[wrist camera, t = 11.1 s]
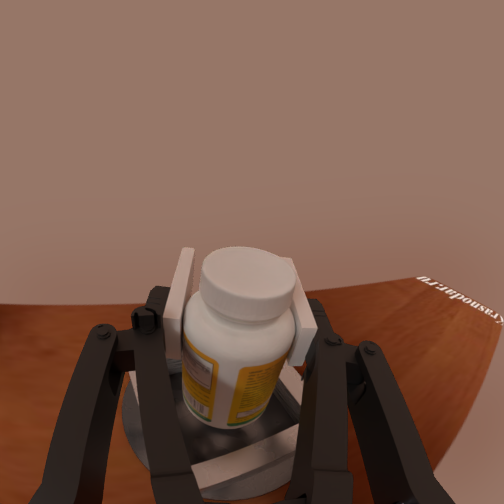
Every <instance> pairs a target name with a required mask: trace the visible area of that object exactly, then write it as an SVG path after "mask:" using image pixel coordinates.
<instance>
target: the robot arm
mask: <svg viewBox="0 0 504 504" xmlns="http://www.w3.org/2000/svg"><path fill="white" fill-rule="evenodd" d="M194 254H195V248H187V247H183V248H182V252H181V255H180V258H179V262H178V265H177V268H176V271H175V275H174V278H173V282H172V285H171V287H162V286H155V287H154V288H153V289H152V290H151V291H150V294H149V296H148V299H147V302H146V305H145V306H141V307H138V308H136V309H135V310H134V311H133V312H132V314H131V320H132V326H133V328H131V329H129V330H122V331H116V329H115V327H113V326H112V325H109V324H99V325H96V326H95V327H93V328H92V330H91V331H90V333H89V335H88V338H87V340H86V342H85V345H84V347H83V350H82V352H81V355H80V357H79V360H78V362H77V365H76V367H75V370H74V372H73V375H72V378H71V381H70V383H69V386H68V389H67V392H66V395H65V398H64V401H63V404H62V407H61V410H60V413H59V416H58V419H57V423H56V426H55V430H54V433H53V437H52V440H51V444H50V448H49V452H48V456H47V460H46V465H45V469H44V474H43V479H42V484H41V485H40V487H39V488H38V490H37V491H36V493H35V494H34V496H33V497H32V499H31V500H30V502H29V503H28V504H102V499H103V490H104V481H105V473H106V466H107V459H108V453H109V447H110V441H111V435H112V430H113V424H114V419H115V414H116V410H117V405H118V400H119V396H120V391H121V387H122V383H123V378H124V374H125V372H128V371H135V372H136V383H137V393H138V401H139V409H140V417H141V424H142V430H143V437H144V442H145V448H146V453H147V459H148V464H149V468H150V474H151V484H152V489H153V493H154V497H155V501H156V504H229V503H214V502H204V501H203V499H202V496H201V493H200V490H199V487H198V484H197V481H196V478H195V475H194V473H193V470H192V468H191V464H190V461H189V457H188V454H187V450H186V447H185V443H184V439H183V435H182V431H181V427H180V423H179V419H178V415H177V411H176V406H175V402H174V397H173V392H172V387H171V382H170V377H169V372H168V367H167V361H166V358H169V359H178V360H181V355H182V323H183V313H184V309H185V307H186V304H187V302H188V301H189V299H190V298H191V292H192V286H193V270H194ZM280 258H282V259H284V260H285V261H286V262H287V263H288V264H289V265H290V266H291V267H292V268H293V270H294V272H295V274H296V286H295V290H294V293H293V297H292V302H291V305H290V307H289V308H290V310H291V312H292V314H293V316H294V320H295V336H294V339H293V342H292V345H291V348H290V350H289V353H288V356H287V358H286V359H287V363H288V366H302V365H303V363H304V360H306V363H307V366H306V369H305V371H304V373H303V375H302V377H301V381H303V378H304V381H303V392H302V401H301V410H300V419H299V427H298V435H297V442H296V449H295V456H294V463H293V469H292V476H291V482H290V486H289V488H288V490H287V493H286V496H285V499H284V500H283V501H280V502H276V503H273V504H352V497H353V475H352V473H351V472H349V471H348V469H347V450H348V411H347V404H348V408H349V411H350V415H351V418H352V421H353V425H354V428H355V432H356V435H357V439H358V443H359V446H360V450H361V454H362V457H363V461H364V465H365V469H366V472H367V476H368V480H369V484H370V488H371V492H372V496H373V500H374V503H375V504H455V503H454V501H453V500H452V499H451V497H450V496H449V495H448V494H447V492H446V491H445V490H444V489H443V487H442V486H441V485H440V484H439V482H438V481H437V480H436V478H435V477H434V474H433V471H432V468H431V465H430V463H429V460H428V457H427V454H426V452H425V449H424V447H423V444H422V441H421V439H420V436H419V434H418V431H417V429H416V426H415V424H414V421H413V419H412V416H411V414H410V412H409V409H408V407H407V405H406V402H405V400H404V398H403V395H402V393H401V391H400V389H399V386H398V384H397V382H396V380H395V378H394V375H393V373H392V371H391V369H390V367H389V365H388V363H387V361H386V358H385V356H384V354H383V352H382V350H381V348H380V347H379V346H378V345H377V344H376V343H374V342H371V341H362V342H361V343H360V344H359V346H353V345H349V344H346V343H344V341H343V339H342V338H341V337H340V336H339V335H337V334H336V333H334V332H333V330H332V327H331V325H330V322H329V320H328V318H327V315H326V313H325V310H324V308H323V306H322V304H321V303H320V302H319V301H318V300H317V299H307V298H306V295H305V292H304V290H303V287H302V284H301V282H300V279H299V277H298V274H297V271H296V269H295V266H294V264H293V261H292V259H291V258H285V257H280Z"/></svg>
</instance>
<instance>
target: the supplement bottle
mask: <svg viewBox="0 0 504 504" xmlns="http://www.w3.org/2000/svg"><path fill="white" fill-rule="evenodd" d="M295 286H296V274H295V272H294V270H293V268H292V267H291V266H290V265H289V264H288V263H287V262H286V261H285V260H284V259H282V258H280V257H278V256H277V255H275V254H273V253H270V252H267V251H265V250H261V249H257V248H252V247H243V246H235V247H225V248H221V249H218V250H215V251H213V252H211V253H210V254H209V255H208V256H207V257H206V258H205V259H204V261H203V263H202V268H201V279H200V283H199V290H198V291H197V292H196V293H195V294H194V295H193V296H192V297H191V298H190V299H189V301H188V302H187V304H186V307H185V309H184V313H183V323H182V389H183V398H184V401H185V404H186V406H187V408H188V409H189V410H190V412H191V413H192V414H193V415H194V416H195V417H196V418H197V419H198V420H200V421H201V422H203V423H205V424H207V425H209V426H212V427H216V428H220V429H236V428H240V427H243V426H246V425H248V424H250V423H252V422H254V421H255V420H256V419H258V418H259V417H260V416H261V415H262V413H263V412H264V411H265V409H266V407H267V405H268V402H269V400H270V397H271V395H272V393H273V390H274V388H275V385H276V383H277V380H278V378H279V376H280V373H281V370H282V368H283V365H284V363H285V361H286V358H287V356H288V353H289V350H290V348H291V345H292V342H293V339H294V336H295V320H294V316H293V314H292V312H291V310H290V308H289V307H290V305H291V302H292V297H293V293H294V290H295Z"/></svg>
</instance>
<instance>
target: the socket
mask: <svg viewBox="0 0 504 504" xmlns="http://www.w3.org/2000/svg"><path fill="white" fill-rule="evenodd" d="M166 361H167V367H168V372H169V377H170V382H171V387H172V392H173V397H174V402H175V406H176V411H177V415H178V419H179V423H180V427H181V431H182V435H183V439H184V443H185V447H186V450H187V454H188V457H189V461H190V464H191V468H192V470H193V473H194V475H195V478H196V481H197V484H198V487H199V490H200V493H201V496H202V498H204V499H209V500H217V501H236V500H246V499H250V498H254V497H258V496H262V495H264V494H267V493H269V492H272V491H274V490H276V489H278V488H279V487H281V486H283V485H284V484H286V483H287V482H289V481H290V480H291V476H292V469H293V463H294V456H295V449H296V442H297V435H298V427H299V419H300V410H301V401H302V392H303V381H304V379H303V381H301V377H302V376H301V375H300V374H299V373H298V372H297V371H296V370H295V369H294V368H293V366H288V363H287V359H286V361H285V363H284V365H283V368H282V370H281V373H280V376H279V378H278V380H277V383H276V385H275V388H274V390H273V393H272V395H271V397H270V400H269V402H268V405H267V407H266V409H265V411H264V412H263V413H262V415H261V416H260V417H259V418H258V419H256V420H255V421H254V422H252V423H250V424H248V425H246V426H243V427H240V428H236V429H220V428H216V427H212V426H209V425H207V424H205V423H203V422H201V421H200V420H198V419H197V418H196V417H195V416H194V415H193V414H192V413H191V412H190V410H189V409H188V408H187V406H186V404H185V401H184V398H183V389H182V355H181V360H178V359H169V358H166ZM129 375H130V378H131V379H130V381H129V383H128V386H127V388H126V390H125V394H124V398H123V404H122V420H123V425H124V430H125V433H126V436H127V439H128V441H129V443H130V445H131V447H132V449H133V451H134V452H135V454H136V456H137V457H138V458H139V460H140V461H141V462H142V463H143V464H144V466H145V467H146V468H147V469H148V470H149V471H150V468H149V464H148V459H147V453H146V448H145V442H144V437H143V430H142V424H141V417H140V409H139V401H138V393H137V383H136V372H135V371H129Z"/></svg>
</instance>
